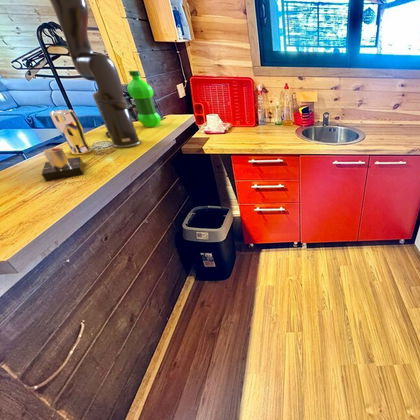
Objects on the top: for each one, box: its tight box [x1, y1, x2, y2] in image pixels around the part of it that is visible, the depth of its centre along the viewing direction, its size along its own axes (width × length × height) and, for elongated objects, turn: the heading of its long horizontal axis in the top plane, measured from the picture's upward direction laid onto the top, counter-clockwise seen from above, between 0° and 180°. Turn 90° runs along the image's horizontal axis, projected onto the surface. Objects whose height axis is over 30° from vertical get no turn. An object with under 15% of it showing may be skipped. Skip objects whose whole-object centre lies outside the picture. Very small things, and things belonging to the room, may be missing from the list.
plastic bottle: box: [126, 70, 162, 128], centre depth 125 cm, size 10×10×25 cm
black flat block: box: [41, 156, 84, 182], centre depth 84 cm, size 11×9×3 cm
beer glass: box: [49, 109, 92, 155], centre depth 96 cm, size 7×7×15 cm
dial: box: [42, 147, 71, 169], centre depth 81 cm, size 4×4×6 cm
